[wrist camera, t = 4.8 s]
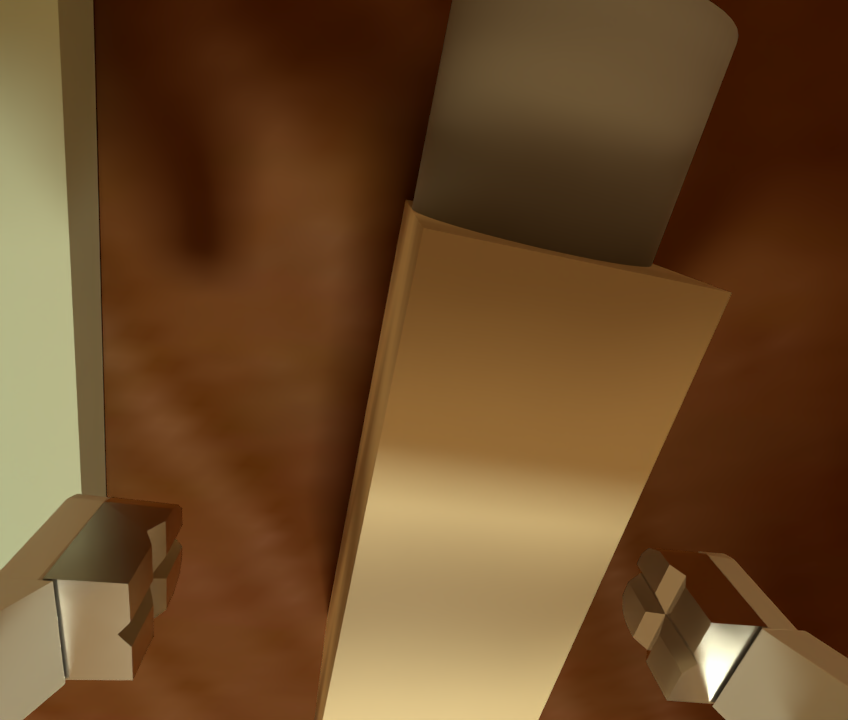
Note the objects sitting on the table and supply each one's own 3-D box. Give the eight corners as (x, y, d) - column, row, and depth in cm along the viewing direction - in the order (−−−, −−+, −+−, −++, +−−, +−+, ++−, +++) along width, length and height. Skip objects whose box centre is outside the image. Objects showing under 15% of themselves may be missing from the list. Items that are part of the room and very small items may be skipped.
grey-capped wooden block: (456, 622, 15) (488, 828, 10) (327, 611, 14) (300, 824, 10) (629, 87, 10) (858, 14, 5) (436, 34, 9) (491, -102, 4)
